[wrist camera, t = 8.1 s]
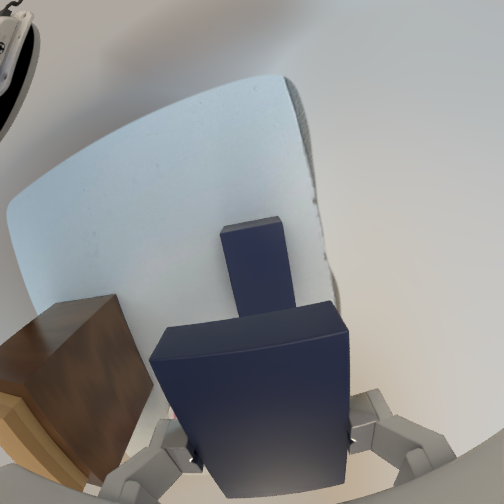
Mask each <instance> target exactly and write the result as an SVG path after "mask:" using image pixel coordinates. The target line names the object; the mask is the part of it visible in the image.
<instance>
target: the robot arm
mask: <svg viewBox="0 0 504 504" xmlns="http://www.w3.org/2000/svg"><path fill="white" fill-rule="evenodd" d="M22 1H23V0H19V1H18V2H15V1H12V2H10V3H9V4H8V5H6V7H5V8H4V9H3V10H1V11H0V96H1V95H2V94H3V93H4V92H5V91H6V90H7V89H8V87H9V85H10V82H11V79H12V75H13V72H14V69H15V66H16V63H17V60H18V57H19V54H20V51H21V48H22V45H23V43H24V40H25V38H26V35H27V33H28V30H29V28H30V26H31V23H32V21H33V19H34V14H33V13H31V12H28V11H21V12H17V13H15V14H12V15H11V12H12V11H10V10H8V8H9V7H10V6H11V5H13V6H18V5H19V4H21V2H22ZM347 430H348V432H349V433H348V435H347V448H348V451H349V455H351V454H355V453H359V452H363V451H366V450H370V449H371V451H373V452H374V453H376V454H377V455H378V456H380V457H381V458H383V459H384V460H386V461H387V462H388V463H390V464H391V465H393V466H394V467H396V468H397V469H399V470H400V471H399V473H398V476H397V478H396V480H395V482H394V487H392V488H389V489H386V490H384V491H381V492H377V493H374V494H371V495H368V496H365V497H361V498H358V499H354V500H350V501H346V502H342V503H338V504H504V428H503V429H502V430H501V431H499V432H498V433H496V434H495V435H493V436H492V437H490V438H489V439H488V440H486V441H484V442H483V443H481V444H480V445H478V446H477V447H475V448H473V449H472V450H470V451H468V452H467V453H465V454H463V455H461V456H460V457H458V458H457V457H456V455H455V454H454V452H453V450H452V449H451V447H450V445H449V444H448V442H447V440H446V439H445V437H444V436H443V435H441V434H439V433H436V432H434V431H432V430H429V429H427V428H425V427H422V426H420V425H418V424H416V423H413V422H411V421H409V420H407V419H405V418H403V417H400V416H398V415H394V416H393V414H392V412H391V411H390V409H389V407H388V405H387V403H386V401H385V399H384V397H383V396H382V394H381V392H380V390H379V389H374V390H370V391H367V392H363V393H360V394H356V395H353V396H350V410H349V417H348V426H347ZM203 466H204V463H203V461H202V459H201V458H200V456H199V455H198V454H197V453H196V451H195V448H194V446H193V445H192V443H191V441H190V440H189V438H188V437H187V436H186V434H185V432H184V430H183V429H182V427H181V425H180V423H179V421H178V419H160V420H159V421H158V423H157V425H156V428H155V431H154V434H153V436H152V439H151V442H150V444H149V447H145V448H143V449H142V450H141V451H139V452H138V453H137V454H135V455H134V456H133V457H131V458H130V459H129V460H127V461H126V462H125V463H123V464H122V465H120V466H119V467H118V468H116V469H115V470H113V471H112V472H110V473H109V474H108V475H107V476H106V478H105V481H104V483H103V485H102V488H101V490H100V492H99V495H98V497H96V496H93V495H90V494H86V493H83V492H81V491H78V490H75V489H72V488H69V487H67V486H64V485H62V484H59V483H57V482H54V481H52V480H49V479H47V478H45V477H43V476H40V475H38V474H36V473H34V472H32V471H30V470H28V469H26V468H24V467H22V466H20V465H18V464H15V463H11V464H8V465H5V466H3V467H0V504H160V503H159V502H158V501H157V500H158V499H159V498H160V497H161V496H162V495H163V494H164V493H165V492H166V491H167V490H168V489H169V488H170V487H171V486H172V485H173V483H174V482H175V481H176V480H177V479H178V478H179V477H180V476H181V475H182V473H202V472H203Z"/></svg>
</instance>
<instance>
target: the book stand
mask: <svg viewBox="0 0 504 504" xmlns="http://www.w3.org/2000/svg"><path fill="white" fill-rule="evenodd" d="M153 386H154V385H153V383H152V381H151V379H150V377H149V374H148V372H147V370H146V368H145V366H144V364H143V362H142V359H141V357H140V355H139V353H138V350H137V348H136V346H135V343H134V341H133V338H132V336H131V334H130V331H129V329H128V326H127V323H126V321H125V318H124V316H123V313H122V310H121V308H120V305H119V302H118V299H117V296H116V294H113V295H107V296H100V297H94V298H87V299H81V300H74V301H67V302H61V303H55V304H54V305H52V306H51V307H50V308H48V309H47V310H46V311H44V312H43V313H42V314H40V315H39V316H38V317H36V318H35V319H34V320H32V321H31V322H30V323H29V324H27V325H26V326H24V327H23V328H22V329H21V330H19V331H18V332H17V333H16V334H14V335H13V336H12V337H11V338H9V339H8V340H7V341H6V342H4V343H3V344H2V345H1V346H0V392H3V393H6V394H10V395H14V396H17V397H21V398H22V399H23V400H24V402H25V403H26V405H27V406H28V408H29V409H30V411H31V412H32V414H33V415H34V416H35V418H36V419H37V420H38V422H39V423H40V424H41V426H42V427H43V428H44V430H45V431H46V432H47V433H48V435H49V436H50V437H51V438H52V440H53V441H54V442H55V443H56V444H57V446H58V447H59V448H60V449H61V450H62V451H63V452H64V454H65V455H66V456H67V457H68V458H69V459H70V460H71V461H72V462H73V463H74V464H75V465H76V467H77V468H78V469H79V470H80V471H81V472H82V473H83V474H84V475H85V476H86V477H87V478H88V481H87V483H89V484H93V485H97V486H100V487H102V485H103V483H104V481H105V478H106V476H107V475H108V474H109V473H110V472H112V471H113V470H115V469H116V468H118V467H119V465H120V463H121V460H122V458H123V455H124V453H125V450H126V448H127V446H128V443H129V441H130V439H131V436H132V434H133V431H134V429H135V427H136V424H137V422H138V420H139V417H140V415H141V413H142V411H143V408H144V406H145V404H146V401H147V399H148V397H149V395H150V392H151V390H152V388H153Z"/></svg>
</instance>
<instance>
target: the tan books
mask: <svg viewBox="0 0 504 504" xmlns="http://www.w3.org/2000/svg"><path fill="white" fill-rule="evenodd" d="M0 445H1V447H2V448H3V449H4V450H5V452H6V453H7V454H8V455H9V456H10V457H11V458H12V459H13V460H14V461H15V462H16V464H18V465H20V466H22V467H24V468H26V469H28V470H30V471H32V472H34V473H36V474H38V475H40V476H43V477H45V478H47V479H49V480H52V481H54V482H57V483H59V484H62V485H64V486H67V487H69V488H72V489H75V490H78V491H81V492H83V488H84V487H85V485H86V483H87V481H88V478H87V477H86V476H85V475H84V474H83V473H82V472H81V471H80V470H79V469H78V468H77V467H76V465H75V464H74V463H73V462H72V461H71V460H70V459H69V458H68V457H67V456H66V455H65V454H64V452H63V451H62V450H61V449H60V448H59V447H58V446H57V444H56V443H55V442H54V441H53V440H52V438H51V437H50V436H49V435H48V433H47V432H46V431H45V430H44V428H43V427H42V426H41V424H40V423H39V422H38V420H37V419H36V418H35V416H34V415H33V414H32V412H31V411H30V409H29V408H28V406H27V405H26V403H25V402H24V400H23V399H22V398H21V397H17V396H14V395H10V394H6V393H3V392H0Z"/></svg>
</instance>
